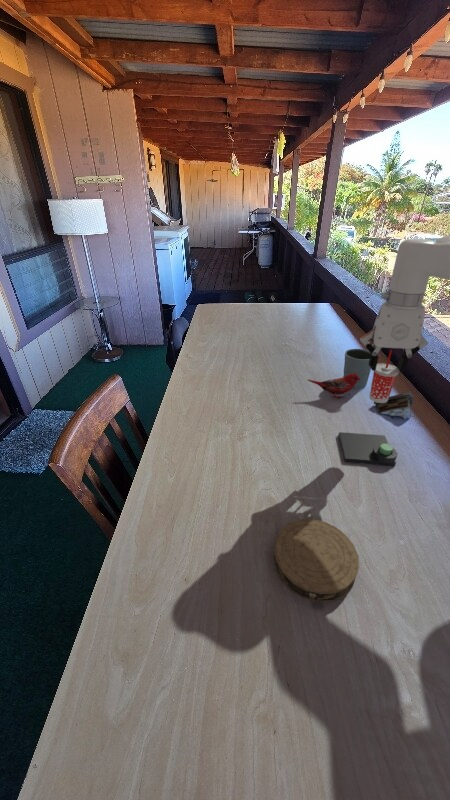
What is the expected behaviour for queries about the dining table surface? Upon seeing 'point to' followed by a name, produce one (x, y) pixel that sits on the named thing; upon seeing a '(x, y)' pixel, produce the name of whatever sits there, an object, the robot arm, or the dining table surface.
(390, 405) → the chocolate cake
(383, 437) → the scale
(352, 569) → the wood log slice
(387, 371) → the beverage cup
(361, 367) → the green cylindrical pot
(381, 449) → the tare button
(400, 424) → the dining table surface
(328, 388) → the decorative bird figurine
